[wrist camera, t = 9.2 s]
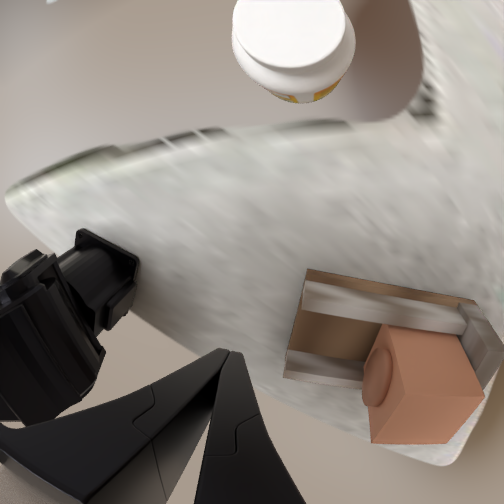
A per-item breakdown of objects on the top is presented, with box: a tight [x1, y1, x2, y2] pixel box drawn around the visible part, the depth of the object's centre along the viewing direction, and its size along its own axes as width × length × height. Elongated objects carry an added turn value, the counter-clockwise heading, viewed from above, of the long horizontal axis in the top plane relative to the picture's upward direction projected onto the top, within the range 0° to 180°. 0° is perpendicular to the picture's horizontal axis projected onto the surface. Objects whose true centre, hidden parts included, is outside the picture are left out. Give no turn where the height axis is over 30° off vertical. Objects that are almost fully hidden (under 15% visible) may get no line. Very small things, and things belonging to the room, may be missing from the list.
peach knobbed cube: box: [362, 324, 485, 444], centre depth 18 cm, size 7×5×8 cm
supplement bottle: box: [232, 0, 356, 103], centre depth 13 cm, size 5×5×10 cm
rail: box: [283, 269, 504, 390], centre depth 21 cm, size 14×8×7 cm, turn 82°
